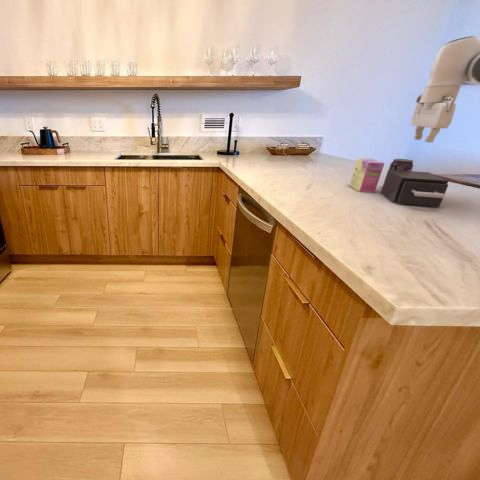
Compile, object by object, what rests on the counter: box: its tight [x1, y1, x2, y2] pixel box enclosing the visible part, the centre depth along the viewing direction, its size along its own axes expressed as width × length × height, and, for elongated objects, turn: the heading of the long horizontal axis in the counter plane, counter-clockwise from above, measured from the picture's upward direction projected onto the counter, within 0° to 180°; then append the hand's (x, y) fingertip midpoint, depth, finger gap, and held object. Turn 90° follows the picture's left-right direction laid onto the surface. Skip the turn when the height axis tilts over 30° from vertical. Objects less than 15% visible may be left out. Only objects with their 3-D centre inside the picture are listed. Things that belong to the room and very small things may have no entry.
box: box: [348, 157, 385, 193], centre depth 116 cm, size 10×6×12 cm, turn 168°
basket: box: [397, 180, 449, 207], centre depth 99 cm, size 18×11×7 cm, turn 159°
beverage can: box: [388, 158, 414, 171], centre depth 115 cm, size 7×7×12 cm
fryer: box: [380, 169, 449, 208], centre depth 103 cm, size 15×13×9 cm
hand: (422, 141), depth 100 cm, fingers open, 8 cm apart
